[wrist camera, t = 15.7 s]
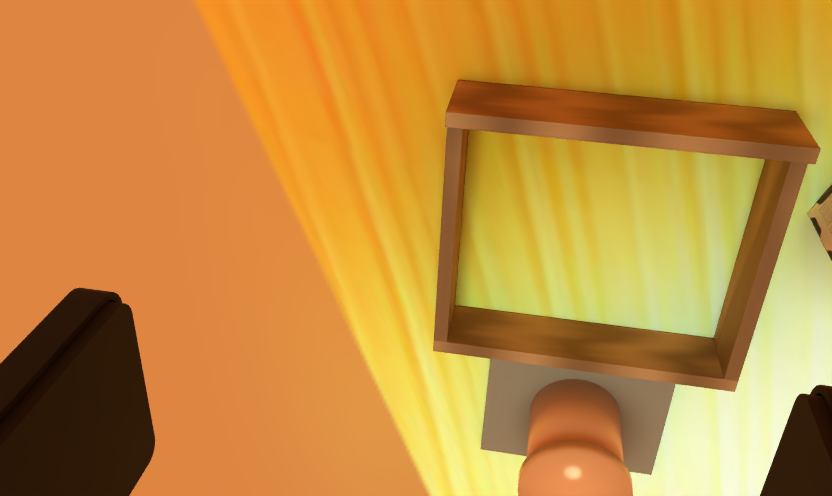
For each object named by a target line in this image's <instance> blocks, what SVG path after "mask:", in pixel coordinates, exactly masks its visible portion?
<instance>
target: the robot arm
mask: <svg viewBox="0 0 832 496" xmlns="http://www.w3.org/2000/svg"><path fill="white" fill-rule="evenodd" d="M154 447H155V436H154V430H153V425H152V419H151V414H150V408H149V403H148V397H147V392H146V386H145V381H144V375H143V370H142V364H141V359H140V353H139V348H138V342H137V337H136V331H135V326H134V320H133V315H132V311H131V308H130V307H129V305H127V304H123V303H122V301H121V298H120V297H119V295H118V294H116V293H114V292H108V291H100V290H93V289H85V288H76V289H74V290H72V291H71V292H70V293H69V294H68V295H67V296H66V297H65V298H64V299H63V300H62V301H61V302H60V303H59V304H58V305H57V306H56V307H55V308H54V309H53V310H52V311H51V312H50V313H49V314H48V315H47V316H46V317H45V318H44V320H43V321H42V322H41V323H39V325H38V326H37V327H36V328H35V329H34V330H33V331H32V332H31V333H30V334H29V335H28V336H27V337H26V338H25V339H24V340H23V341H22V342H21V343H20V344H19V345H18V346H17V347H16V348H15V349H14V350H13V351H12V352H11V353H10V354H9V356H7V358H6V359H5V360H4V361H3V362H2V363H1V364H0V496H129V495H130V493H131V492H132V490H133V489H134V487H135V485H136V484H137V482H138V480H139V479H140V477H141V476H142V473H143V472H144V471H145V469H146V467H147V466H148V464H149V462H150V460H151V458H152V455H153V451H154ZM760 496H832V386H825V385H817V386H816V387H815V388H814V389H813V390H812V392H811V394H810V395H809V394H800V395H799V396H798V397H797V398H796V400H795V402H794V405H793V408H792V411H791V413H790V416H789V419H788V421H787V424H786V427H785V430H784V432H783V435H782V438H781V440H780V443H779V446H778V448H777V451H776V454H775V457H774V459H773V462H772V465H771V467H770V470H769V473H768V475H767V478H766V481H765V484H764V486H763V489H762V492H761V494H760Z"/></svg>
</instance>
